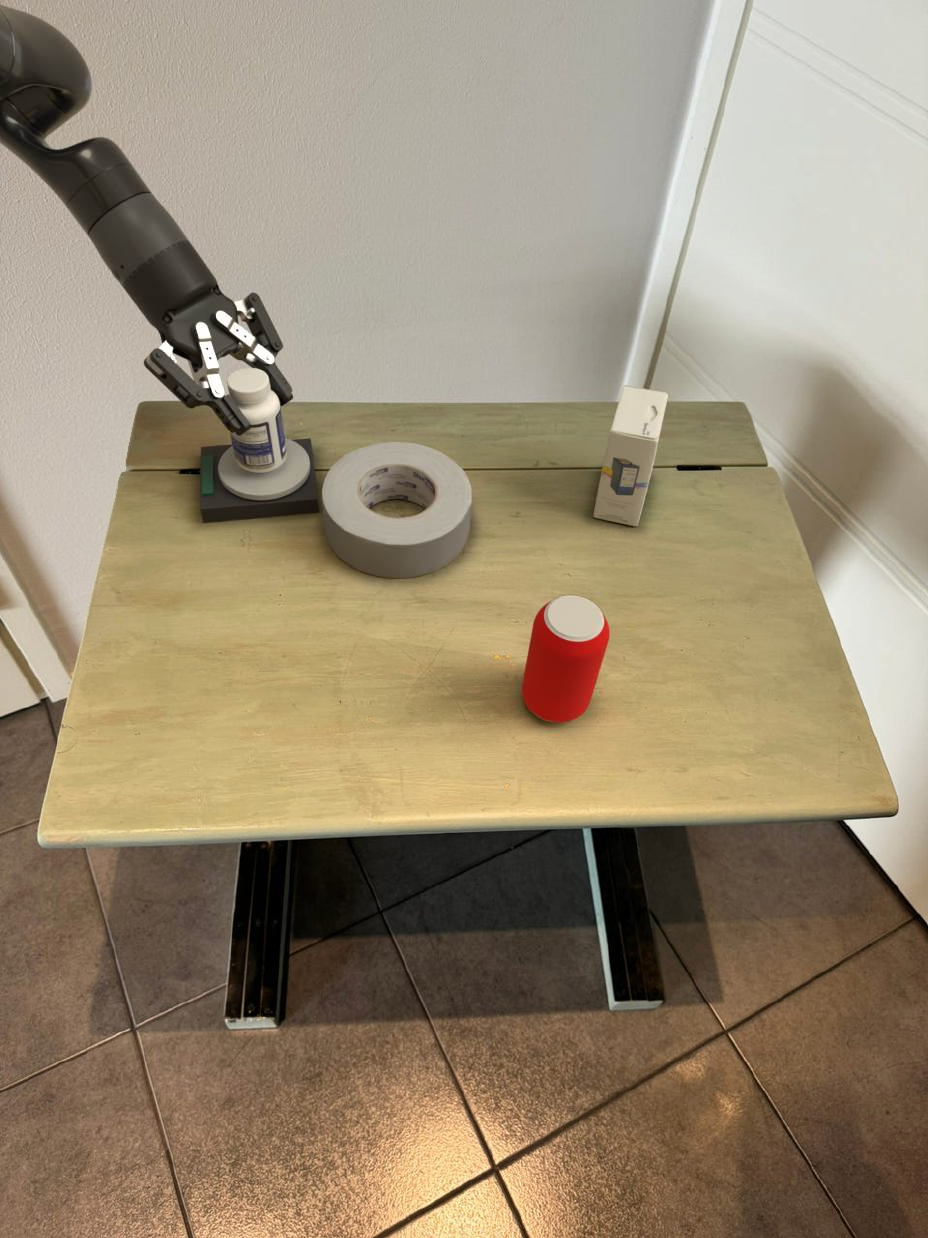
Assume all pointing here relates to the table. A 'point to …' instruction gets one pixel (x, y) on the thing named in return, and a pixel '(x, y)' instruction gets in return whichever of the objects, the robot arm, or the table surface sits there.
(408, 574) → the tape roll
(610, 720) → the table surface
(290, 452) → the scale
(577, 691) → the beverage can
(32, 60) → the robot arm
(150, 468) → the table surface
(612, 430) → the ink box
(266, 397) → the pill bottle
